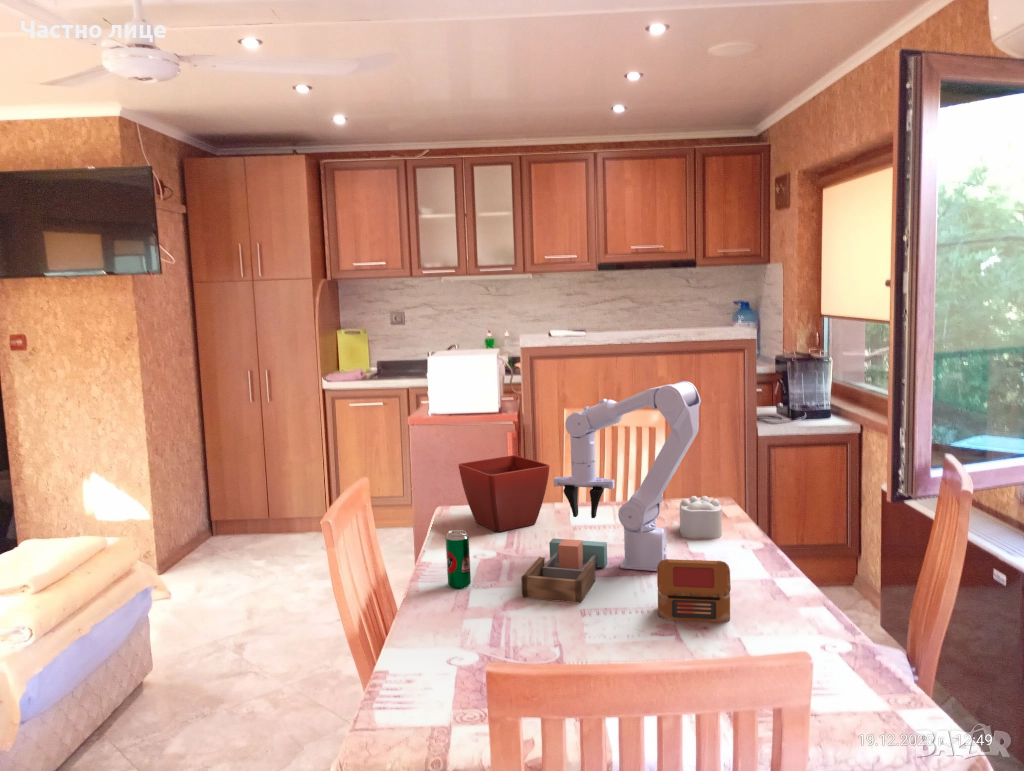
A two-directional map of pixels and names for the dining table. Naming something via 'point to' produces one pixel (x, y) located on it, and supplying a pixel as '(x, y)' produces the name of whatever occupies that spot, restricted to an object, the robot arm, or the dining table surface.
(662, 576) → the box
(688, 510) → the lumpy-topped squat cylinder
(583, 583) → the caddy
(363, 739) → the dining table surface
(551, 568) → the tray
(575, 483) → the robot arm
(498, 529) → the plant pot
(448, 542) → the soda can
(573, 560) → the brick-red block
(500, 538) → the dining table surface
